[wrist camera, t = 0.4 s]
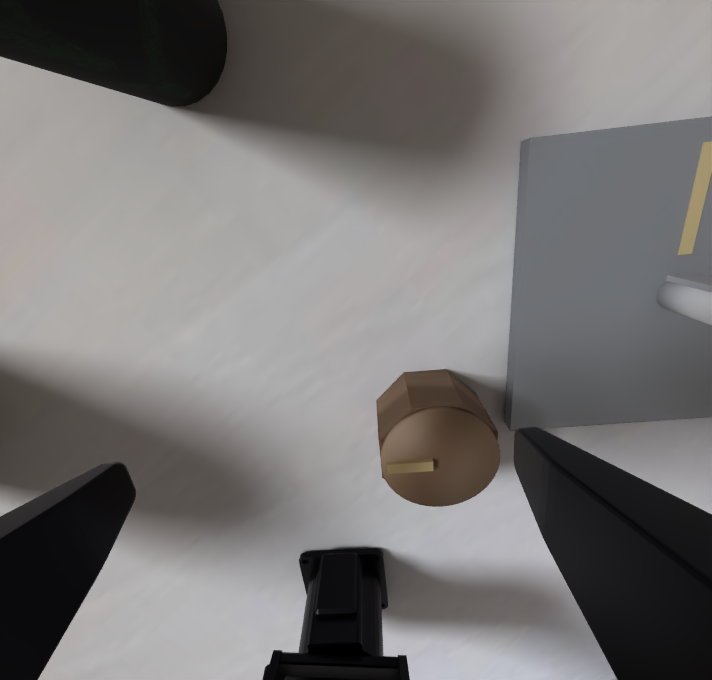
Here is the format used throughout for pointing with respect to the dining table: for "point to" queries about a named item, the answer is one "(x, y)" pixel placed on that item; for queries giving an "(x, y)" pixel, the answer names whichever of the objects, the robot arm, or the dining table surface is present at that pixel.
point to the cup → (121, 44)
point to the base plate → (612, 277)
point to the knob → (435, 439)
